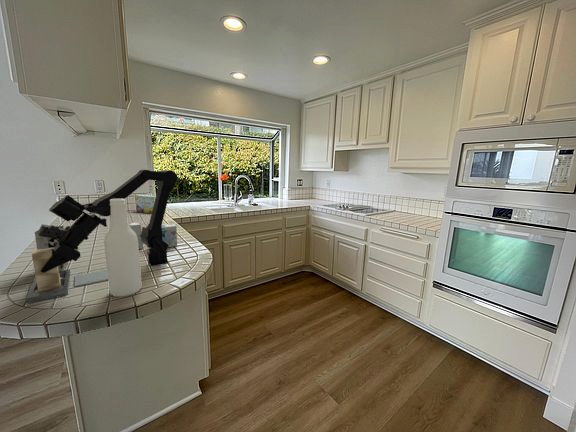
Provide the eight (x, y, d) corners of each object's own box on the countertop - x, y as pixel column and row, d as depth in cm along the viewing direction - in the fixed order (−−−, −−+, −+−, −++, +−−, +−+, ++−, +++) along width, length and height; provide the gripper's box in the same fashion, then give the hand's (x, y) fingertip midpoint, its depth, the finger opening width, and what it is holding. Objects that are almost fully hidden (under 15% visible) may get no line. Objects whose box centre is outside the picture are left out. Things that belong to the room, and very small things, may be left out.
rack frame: (70, 273, 93) (69, 269, 93) (68, 294, 78) (67, 289, 78) (36, 279, 88) (35, 275, 87) (26, 303, 72) (26, 298, 72)
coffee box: (63, 271, 94) (57, 230, 91) (40, 275, 91) (33, 232, 88) (69, 263, 102) (64, 225, 99) (48, 266, 99) (42, 226, 96)
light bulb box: (155, 249, 122) (153, 228, 120) (152, 246, 127) (150, 225, 125) (178, 245, 129) (176, 225, 127) (174, 242, 134) (173, 223, 132)
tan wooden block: (61, 284, 84) (55, 247, 82) (60, 289, 80) (54, 251, 78) (40, 288, 81) (33, 250, 78) (38, 294, 77) (31, 254, 75)
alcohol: (142, 293, 80) (134, 200, 74) (108, 300, 75) (97, 201, 70) (142, 282, 87) (134, 197, 82) (111, 288, 83) (101, 198, 77)
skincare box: (143, 248, 124) (141, 224, 122) (133, 250, 121) (131, 225, 119) (139, 245, 128) (137, 222, 126) (129, 247, 125) (127, 223, 123)
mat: (109, 270, 97) (108, 269, 97) (111, 279, 89) (111, 278, 89) (75, 276, 90) (75, 275, 90) (74, 287, 83) (74, 285, 83)
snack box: (136, 211, 222) (134, 194, 219) (141, 211, 227) (140, 194, 224) (154, 213, 215) (153, 196, 212) (159, 212, 220) (158, 195, 218)
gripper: (51, 211, 85) (9, 249, 79) (60, 219, 73) (12, 265, 67) (84, 229, 92) (47, 266, 86) (97, 239, 80) (56, 282, 74)
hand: (41, 269), depth 78 cm, fingers closed on tan wooden block, 5 cm apart
